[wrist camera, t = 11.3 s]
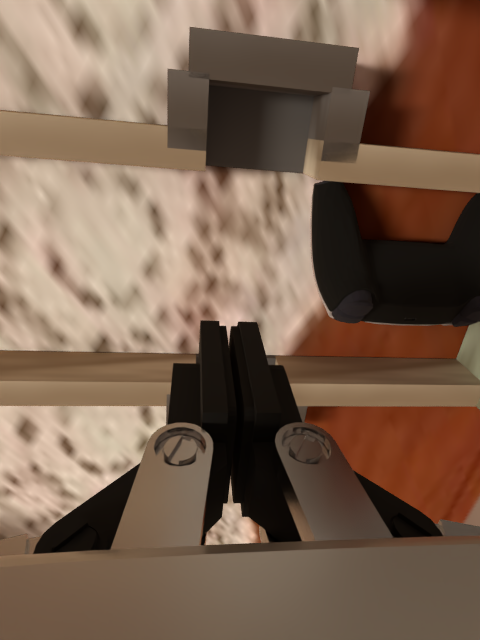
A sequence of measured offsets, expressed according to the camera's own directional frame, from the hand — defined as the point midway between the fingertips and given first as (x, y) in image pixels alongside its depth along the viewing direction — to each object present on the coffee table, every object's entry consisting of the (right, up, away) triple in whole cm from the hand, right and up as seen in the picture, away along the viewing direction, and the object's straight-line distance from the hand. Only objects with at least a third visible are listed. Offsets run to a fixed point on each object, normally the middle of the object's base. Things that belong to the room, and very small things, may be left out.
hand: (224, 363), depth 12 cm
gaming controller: (+9, +6, +11) cm, 15 cm away
